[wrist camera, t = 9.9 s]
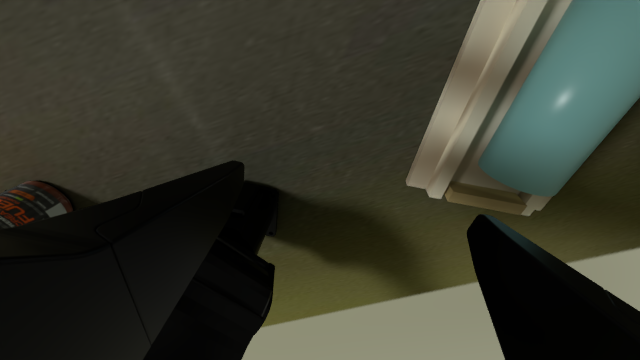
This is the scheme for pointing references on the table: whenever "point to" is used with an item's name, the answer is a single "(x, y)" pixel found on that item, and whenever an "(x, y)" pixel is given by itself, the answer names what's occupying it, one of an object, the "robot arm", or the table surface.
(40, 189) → the supplement bottle
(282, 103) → the table surface
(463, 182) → the wooden tray
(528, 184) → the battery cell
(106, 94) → the table surface
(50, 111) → the table surface
